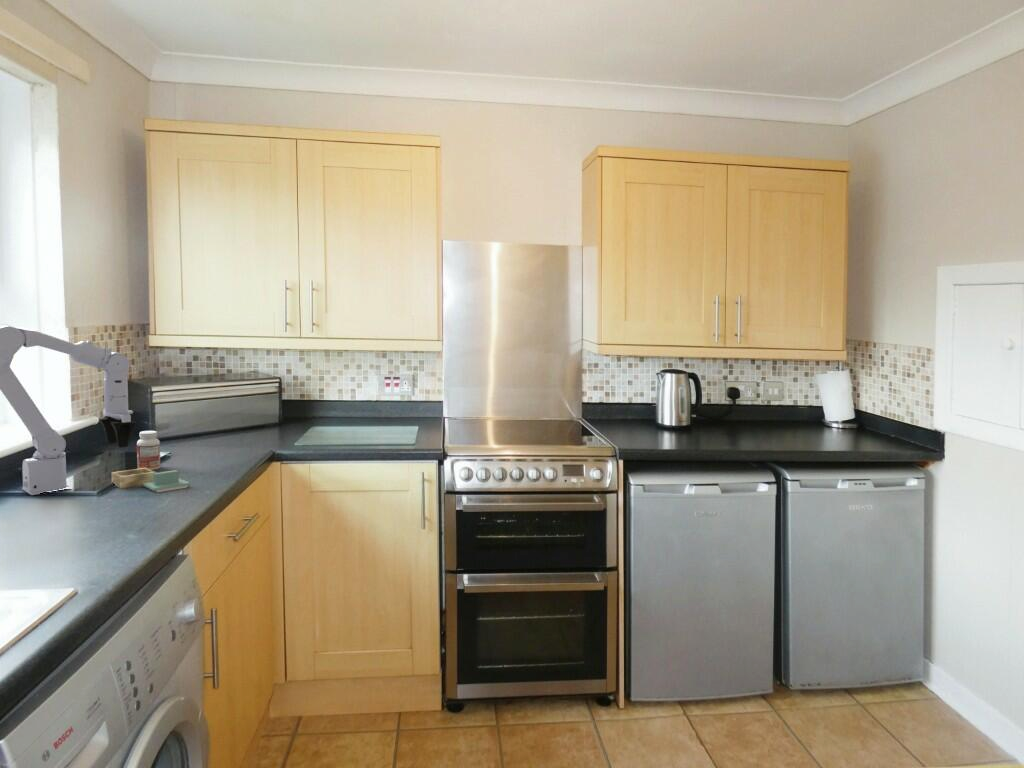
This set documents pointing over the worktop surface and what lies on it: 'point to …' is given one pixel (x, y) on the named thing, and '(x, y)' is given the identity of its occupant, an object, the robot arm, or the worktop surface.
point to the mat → (171, 489)
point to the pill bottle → (148, 450)
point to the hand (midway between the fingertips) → (117, 444)
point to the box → (132, 477)
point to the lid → (165, 481)
